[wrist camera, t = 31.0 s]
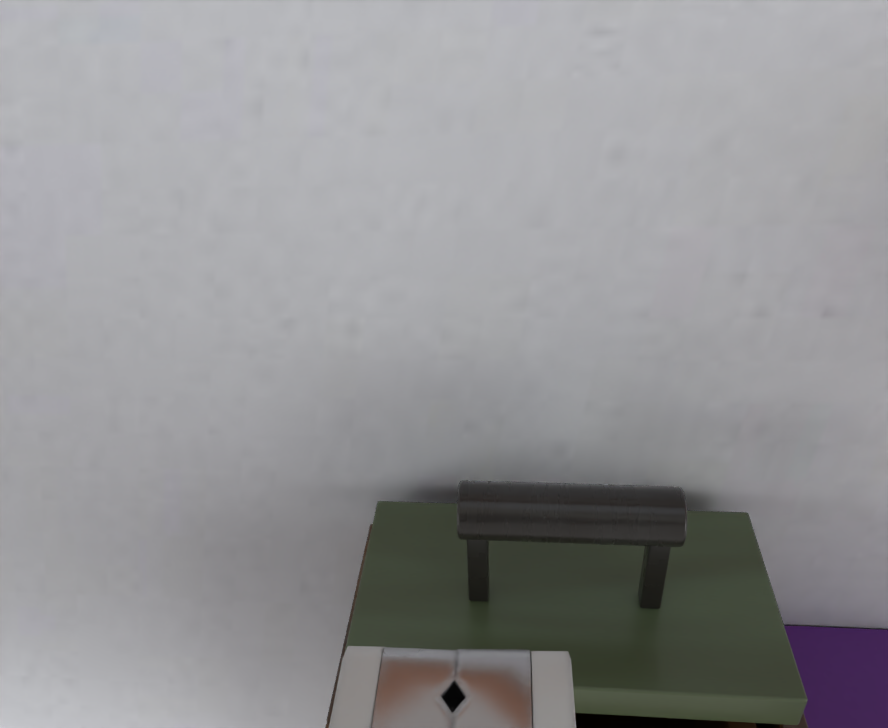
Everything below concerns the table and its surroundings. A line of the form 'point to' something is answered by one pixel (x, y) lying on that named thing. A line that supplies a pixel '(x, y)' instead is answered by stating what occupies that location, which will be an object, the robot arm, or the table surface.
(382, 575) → the drawer
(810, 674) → the snack box
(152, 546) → the table surface
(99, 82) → the table surface
